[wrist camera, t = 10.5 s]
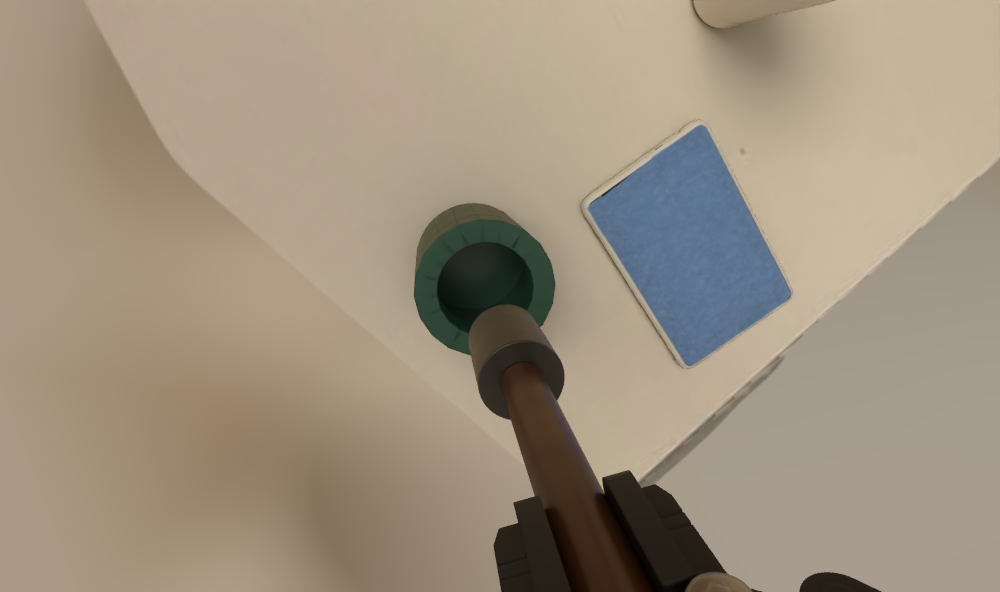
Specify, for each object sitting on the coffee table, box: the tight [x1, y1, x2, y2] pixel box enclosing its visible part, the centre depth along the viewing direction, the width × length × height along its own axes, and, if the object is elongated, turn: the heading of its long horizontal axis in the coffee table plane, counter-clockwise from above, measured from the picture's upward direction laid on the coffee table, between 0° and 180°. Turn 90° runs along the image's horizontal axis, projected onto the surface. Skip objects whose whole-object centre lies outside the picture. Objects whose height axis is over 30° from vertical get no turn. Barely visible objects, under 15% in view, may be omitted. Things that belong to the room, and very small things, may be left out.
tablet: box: [581, 120, 793, 368], centre depth 46 cm, size 19×13×1 cm, turn 35°
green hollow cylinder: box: [414, 203, 555, 355], centre depth 39 cm, size 9×9×10 cm
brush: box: [468, 305, 655, 592], centre depth 17 cm, size 4×4×18 cm
